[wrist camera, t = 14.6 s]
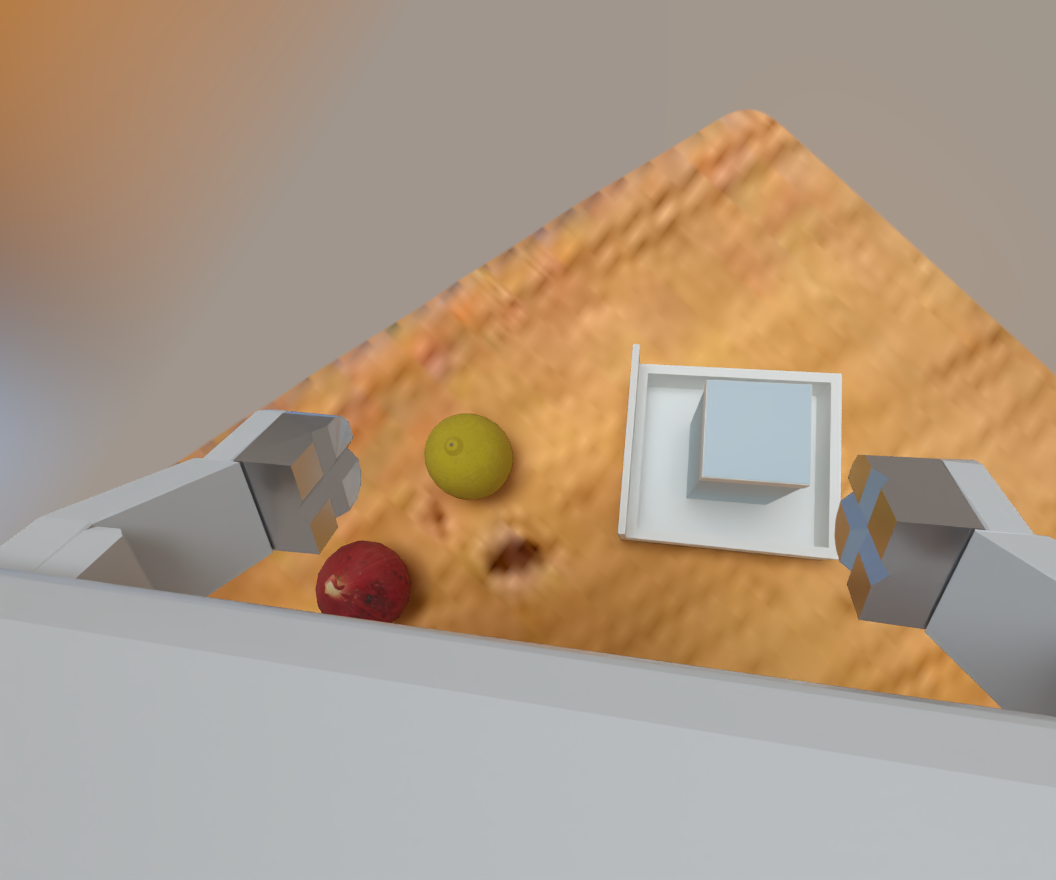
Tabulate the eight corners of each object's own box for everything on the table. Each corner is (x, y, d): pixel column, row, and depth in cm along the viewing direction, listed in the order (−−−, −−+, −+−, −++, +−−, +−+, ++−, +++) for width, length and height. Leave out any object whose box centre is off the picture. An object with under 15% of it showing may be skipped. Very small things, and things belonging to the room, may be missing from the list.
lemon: (499, 415, 43) (470, 382, 36) (536, 480, 42) (514, 461, 34) (434, 453, 44) (391, 429, 36) (468, 519, 42) (432, 509, 34)
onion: (440, 569, 42) (397, 570, 34) (399, 644, 41) (345, 661, 34) (374, 529, 43) (318, 520, 36) (333, 600, 43) (267, 607, 35)
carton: (766, 505, 38) (811, 485, 29) (685, 498, 39) (702, 476, 30) (768, 428, 39) (812, 384, 30) (689, 423, 40) (706, 379, 31)
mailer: (821, 560, 38) (862, 558, 31) (620, 539, 40) (617, 533, 33) (824, 390, 40) (863, 354, 33) (633, 379, 42) (633, 344, 35)
